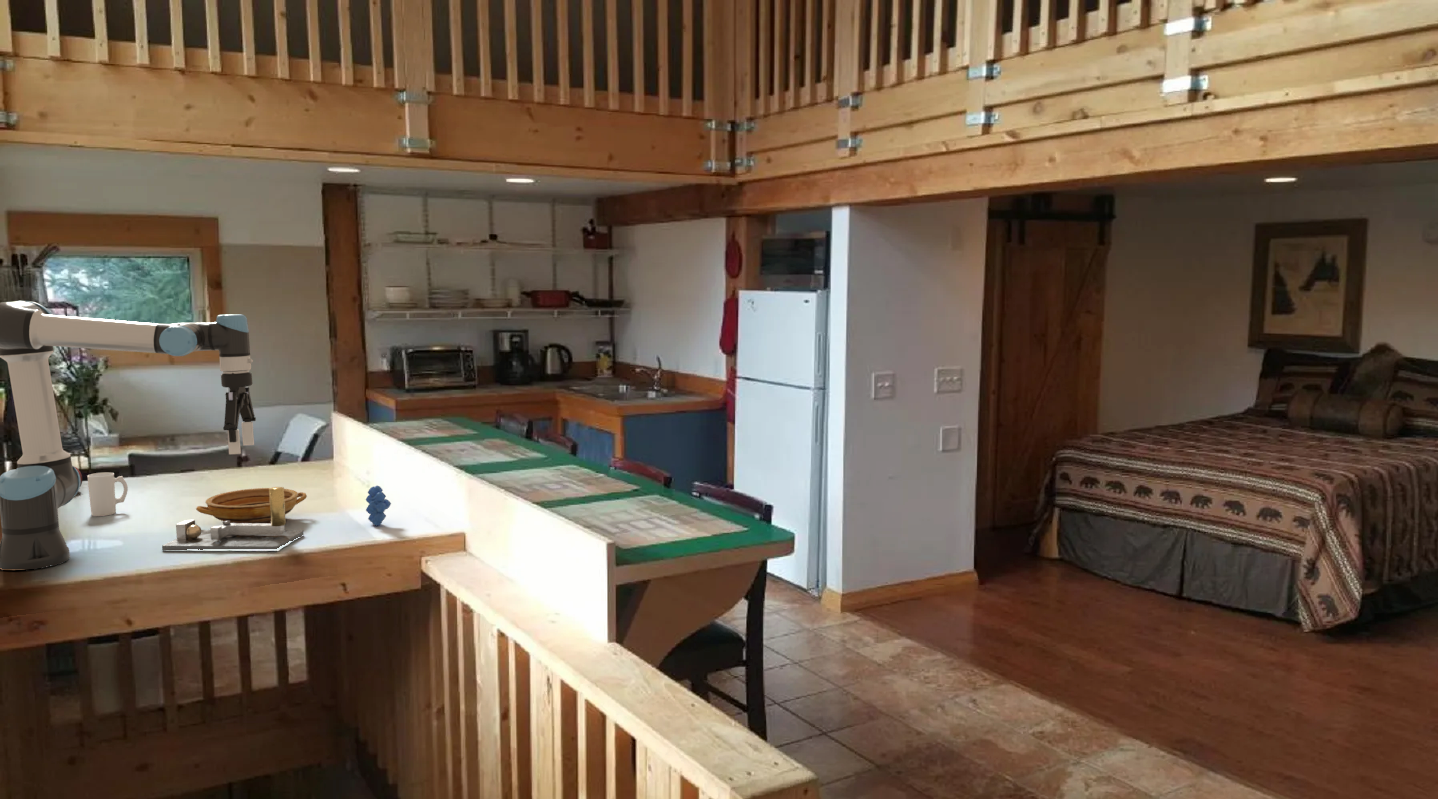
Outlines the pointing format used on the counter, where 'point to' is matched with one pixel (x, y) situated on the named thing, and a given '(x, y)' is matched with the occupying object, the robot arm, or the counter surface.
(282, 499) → the lever
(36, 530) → the robot arm
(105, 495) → the mug
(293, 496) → the ceramic bowl
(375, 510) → the grapes
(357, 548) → the counter surface
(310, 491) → the counter surface
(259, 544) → the base
